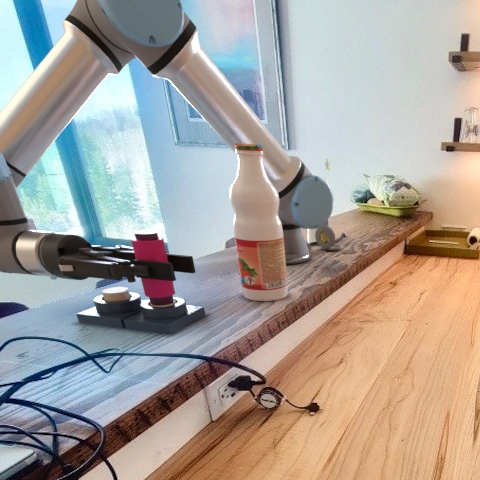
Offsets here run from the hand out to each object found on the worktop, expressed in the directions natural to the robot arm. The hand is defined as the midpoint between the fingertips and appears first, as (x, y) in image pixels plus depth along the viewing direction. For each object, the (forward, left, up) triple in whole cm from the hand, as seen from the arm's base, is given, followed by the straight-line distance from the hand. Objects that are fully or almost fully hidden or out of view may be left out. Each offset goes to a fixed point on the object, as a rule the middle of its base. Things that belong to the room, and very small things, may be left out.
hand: (182, 268), depth 70 cm
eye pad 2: (0, -5, -8) cm, 10 cm away
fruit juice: (-20, +4, -10) cm, 23 cm away
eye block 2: (0, -5, -10) cm, 11 cm away
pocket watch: (-70, +1, -10) cm, 71 cm away
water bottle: (-80, -6, -10) cm, 81 cm away
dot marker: (0, -5, -6) cm, 8 cm away
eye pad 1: (0, -14, -7) cm, 16 cm away
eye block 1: (0, -14, -10) cm, 17 cm away
